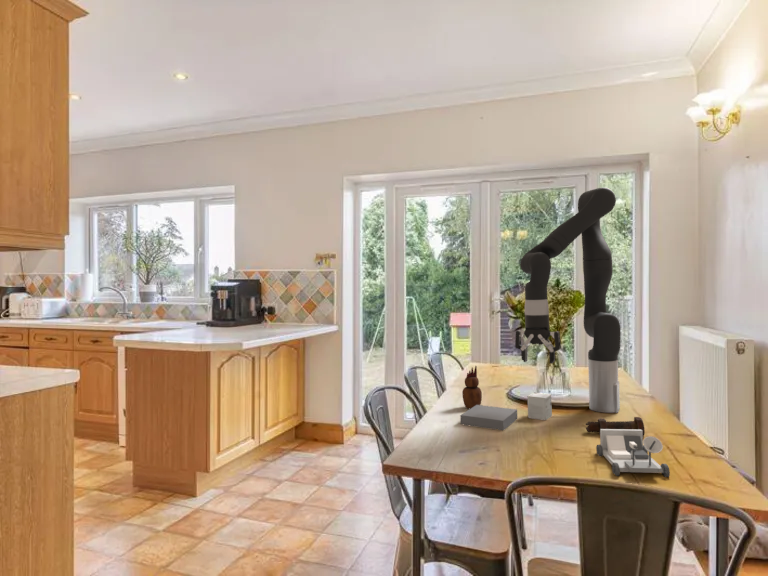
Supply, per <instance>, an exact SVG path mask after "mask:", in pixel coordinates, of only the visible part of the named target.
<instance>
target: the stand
mask: <svg viewBox="0 0 768 576" xmlns="http://www.w3.org/2000/svg"><path fill="white" fill-rule="evenodd" d="M459 417H460V418H459V419H460V425H461V424H464V425H463V426H468V425H470V427H476V428H481V429H482V428H484V429H488V430H489V429H491V430H496V429H498V430H497V431H503V430H504V431H505V430H506V429H508V427H509V426H510V425H512V424H513V423H514V422H515V421H516V420H518V409H517V408H509V407H498V406H489V405H482V404H481V405H475V406H474V407H472V408H471V409H469V408H468V410H466V411H464V412H463V413H461V414H460V415H459Z"/></svg>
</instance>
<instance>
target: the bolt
mask: <svg viewBox="0 0 768 576" xmlns="http://www.w3.org/2000/svg"><path fill="white" fill-rule="evenodd" d="M585 425H586V426H585V430H586V432H587V433H588V434H589V433H595V434H596V433H598V434H600V429H641V430H642V431H643V437H644V436H645V433H646V432H645V424H644V421H643V418H641V417H639V416H634V418H633V420H629V421H628V420H627V421H620V420H619V421H608V420H606V419H605V418H598V420H597V421H591V420H590V421H587V422H586V423H585Z"/></svg>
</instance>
